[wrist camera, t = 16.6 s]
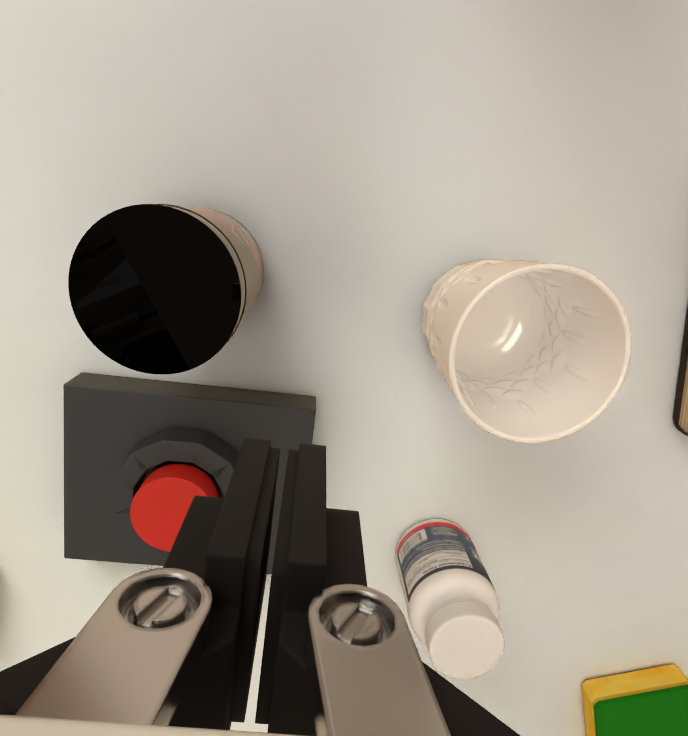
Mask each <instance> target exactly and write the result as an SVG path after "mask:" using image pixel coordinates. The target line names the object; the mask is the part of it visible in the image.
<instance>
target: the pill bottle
mask: <svg viewBox="0 0 688 736" xmlns="http://www.w3.org/2000/svg"><path fill="white" fill-rule="evenodd" d="M395 560H396V565H397V569H398V573H399V577H400V581H401V585H402V588H403V592H404V597H405V601H406V606H407V611H408V616H409V620H410V624H411V627H412V629H413V631H414V633H415V635H416V636H417V637H418V639H419V640H420V641H421V642H422V643H423V644H425V645H426V646H427V649H428V652H429V656H430V659H431V661H432V663H433V664H434V666H435V667H436V668H437V669H438V670H439V671H440V672H441V673H443V674H445V675H446V676H449V677H452V678H456V679H471V678H475V677H478V676H481V675H483V674H485V673H487V672H488V671H490V670H491V669H492V668H493V667H494V666H495V665H496V664H497V663H498V661H499V660H500V658H501V656H502V654H503V651H504V637H503V634H502V631H501V628H500V626H499V623H498V620H499V615H500V606H499V600H498V597H497V594H496V591H495V589H494V587H493V585H492V583H491V581H490V578H489V576H488V574H487V572H486V570H485V568H484V566H483V564H482V562H481V560H480V558H479V556H478V554H477V551H476V549H475V547H474V545H473V543H472V541H471V539H470V537H469V536H468V534H467V533H466V532H465V531H464V530H463V529H462V528H461V527H460V526H459V525H457V524H455V523H453V522H451V521H448V520H443V519H429V520H425V521H421V522H419V523H417V524H415V525H413V526H412V527H410V528H409V529H408V530H407V531H406V532H405V533H404V534H403V535H402V537H401V538H400V540H399V542H398V545H397V548H396V553H395Z"/></svg>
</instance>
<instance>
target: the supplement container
mask: <svg viewBox="0 0 688 736" xmlns="http://www.w3.org/2000/svg"><path fill="white" fill-rule="evenodd" d="M262 283H263V261H262V256H261V253H260V250H259V248H258V245H257V243H256V241H255V240H254V238H253V237H252V235H251V234H250V233H249V231H248V230H247V229H246V228H245V227H244V226H243V225H242V224H241V223H240V222H238V221H237V220H236V219H234V218H233V217H231V216H229V215H227V214H225V213H222V212H220V211H216V210H212V209H205V208H191V207H179V206H174V205H166V204H141V205H133V206H129V207H124V208H122V209H119V210H116V211H114V212H112V213H110V214H108V215H106V216H105V217H103V218H101V219H100V220H99V221H97V222H96V223H95V224H94V225H93V226H92V227H91V228H90V229H89V230H88V231H87V232H86V233H85V235H84V236H83V237H82V239H81V240H80V242H79V244H78V245H77V248H76V250H75V252H74V254H73V257H72V260H71V265H70V269H69V296H70V300H71V305H72V308H73V311H74V314H75V316H76V319H77V321H78V323H79V325H80V326H81V328H82V330H83V331H84V333H85V334H86V336H87V337H88V338H89V339H90V341H91V342H92V343H93V344H94V345H95V346H96V347H97V348H98V349H99V350H100V351H101V352H103V353H104V354H105V355H106V356H108V357H109V358H111V359H112V360H114V361H115V362H117V363H119V364H121V365H123V366H125V367H128V368H130V369H133V370H136V371H139V372H144V373H150V374H174V373H180V372H184V371H187V370H190V369H193V368H195V367H197V366H199V365H201V364H203V363H205V362H206V361H208V360H209V359H211V358H212V357H213V356H214V355H216V354H217V353H218V352H219V351H220V350H221V349H222V348H223V346H224V345H225V344H226V343H227V342H228V341H229V339H230V338H231V337H232V335H233V334H234V333H235V331H236V329H237V328H238V326H239V324H240V322H241V321H242V319H243V318H244V317H245V315H246V314H247V312H248V311H249V310H250V308H251V307H252V306H253V304H254V303H255V301H256V299H257V297H258V295H259V293H260V290H261V287H262Z"/></svg>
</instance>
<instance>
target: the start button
mask: <svg viewBox="0 0 688 736" xmlns="http://www.w3.org/2000/svg"><path fill="white" fill-rule="evenodd" d="M196 495H198V496H208V497H218V498H219V493H218V489H217V487H216V485H215V483H214V482H213V480H212V479H211V478H210V477H209V476H208V475H207V474H206V473H204V472H203V471H202V470H200V469H198V468H196V467H194V466H190V465H187V464H169V465H165V466H162V467H160V468H158V469H156V470H155V471H153V472H152V473H151V474H150V475H148V477H147V478H146V479H145V481H144V482H143V484H142V485H141V487H140V488H139V490H138V491H137V493H136V494H135V496H134V498H133V500H132V503H131V508H130V517H131V522H132V525H133V527H134V529H135V531H136V532H137V534H138V535H139V536H140V537H141V539H142V540H144V541H145V542H146V543H148V544H149V545H151V546H153V547H155V548H157V549H160V550H163V551H169V552H170V551H171V548H172V546H173V544H174V542H175V539H176V537H177V535H178V532H179V530H180V528H181V525H182V523H183V521H184V519H185V516H186V514H187V512H188V509H189V507H190V505H191V502H192V500H193V498H194V497H195V496H196Z"/></svg>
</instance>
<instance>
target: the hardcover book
mask: <svg viewBox="0 0 688 736" xmlns="http://www.w3.org/2000/svg"><path fill="white" fill-rule="evenodd" d="M673 420H674V424H675V426H676V428H677V429H678V430H679V431H680V432H681V433H683V434H684V435H687V436H688V309H687V317H686V324H685V332H684V339H683V347H682V354H681V362H680V369H679V377H678V384H677V392H676V399H675V407H674V414H673Z"/></svg>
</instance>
